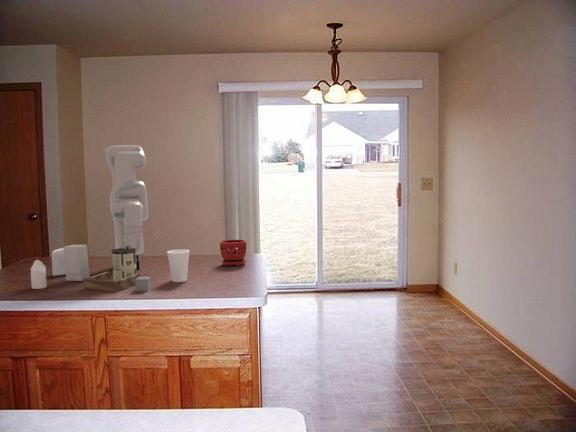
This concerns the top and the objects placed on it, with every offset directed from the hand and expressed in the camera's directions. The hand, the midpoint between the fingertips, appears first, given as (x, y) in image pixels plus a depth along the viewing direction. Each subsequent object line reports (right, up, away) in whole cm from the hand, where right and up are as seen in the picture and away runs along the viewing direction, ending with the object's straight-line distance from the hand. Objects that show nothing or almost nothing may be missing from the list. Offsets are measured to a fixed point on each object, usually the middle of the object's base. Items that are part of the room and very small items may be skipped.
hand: (135, 270), depth 263 cm
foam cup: (+21, -4, -8) cm, 23 cm away
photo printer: (-36, -3, +10) cm, 37 cm away
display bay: (-6, -5, -16) cm, 17 cm away
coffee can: (-3, -4, -7) cm, 9 cm away
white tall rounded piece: (-37, -6, -16) cm, 40 cm away
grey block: (+10, -6, -24) cm, 26 cm away
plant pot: (+42, 0, +27) cm, 50 cm away
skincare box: (-25, -4, -2) cm, 26 cm away
